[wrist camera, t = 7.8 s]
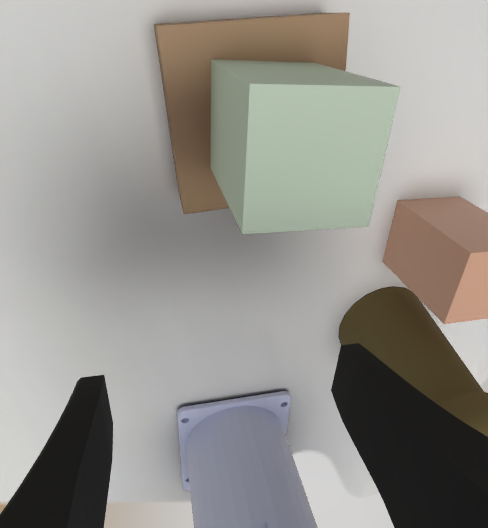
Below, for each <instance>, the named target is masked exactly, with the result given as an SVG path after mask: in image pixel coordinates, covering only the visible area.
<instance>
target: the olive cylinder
mask: <svg viewBox="0 0 488 528" xmlns="http://www.w3.org/2000/svg"><path fill="white" fill-rule="evenodd" d="M339 340H340V343H341V345H347V344H355V343H359V344H361V345H362V346H363V347H365V348H366V349H367V350H368V351H370V352H371V353H372V354H373V355H375V356H376V357H377V358H378V359H380V360H381V361H382V362H383V363H384V364H386V365H387V366H388V367H389V368H391V369H392V370H393V371H394V372H396V373H397V374H398V375H399V376H401V377H402V378H403V379H404V380H406V381H407V382H408V383H410V384H411V385H412V386H413V387H415V388H416V389H417V390H419V391H420V392H421V393H423V394H424V395H425V396H427V397H428V398H429V399H431V400H432V401H434V402H435V403H436V404H438V405H439V406H441V407H442V408H444V409H445V410H446V411H448V412H449V413H451V414H452V415H454V416H455V417H457V418H458V419H460V420H461V421H463V422H464V423H466V424H468V425H469V426H471V427H473V428H474V429H476V430H477V431H479V432H481V433H482V434H484V435H485V436H487V437H488V393H486V392H484V391H483V390H482V388H481V387H480V385H479V384H478V383H477V381H476V380H475V378H474V377H473V375H472V374H471V373H470V371H469V370H468V368H467V367H466V365H465V364H464V363H463V361H462V360H461V358H460V357H459V356H458V354H457V353H456V351H455V350H454V348H453V347H452V346H451V344H450V343H449V341H448V340H447V338H446V337H445V336H444V334H443V333H442V331H441V330H440V329H439V327H438V326H437V324H436V323H435V321H434V320H433V319H432V317H431V316H430V314H429V313H428V311H427V310H426V309H425V307H424V306H423V304H422V303H421V302H420V300H419V299H418V297H417V296H416V295H415V294H414V293H413V292H412V291H410V290H408V289H406V288H401V287H388V288H383V289H379V290H376V291H374V292H372V293H370V294H367V295H366V296H364V297H363V298H361V299H360V300H359V301H357V302H356V303H355V304H354V305H353V306H352V307H351V308H350V309H349V311H348V312H347V313H346V314H345V316H344V318H343V320H342V322H341V324H340V328H339Z"/></svg>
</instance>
